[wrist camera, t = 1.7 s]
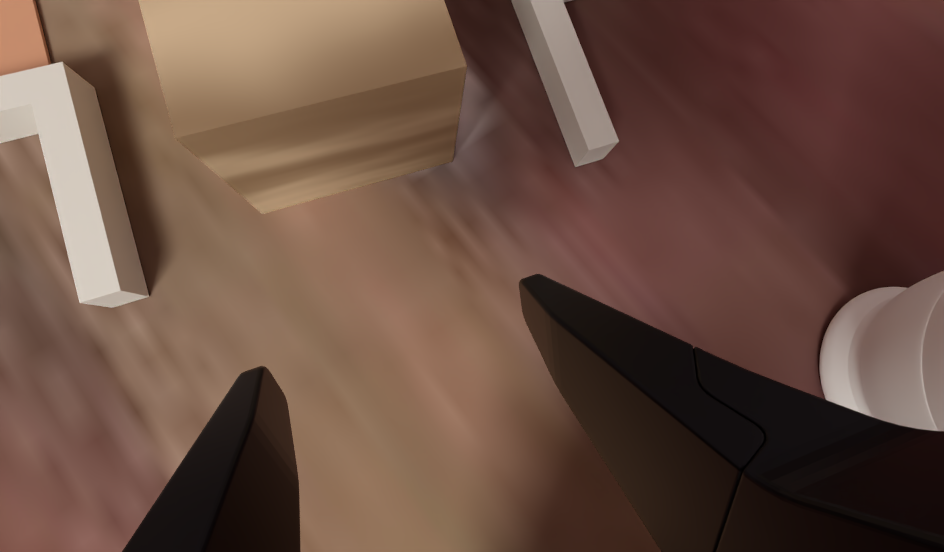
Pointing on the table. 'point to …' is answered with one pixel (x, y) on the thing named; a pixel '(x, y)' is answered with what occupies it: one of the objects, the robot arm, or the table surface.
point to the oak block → (308, 90)
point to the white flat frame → (92, 166)
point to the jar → (889, 355)
